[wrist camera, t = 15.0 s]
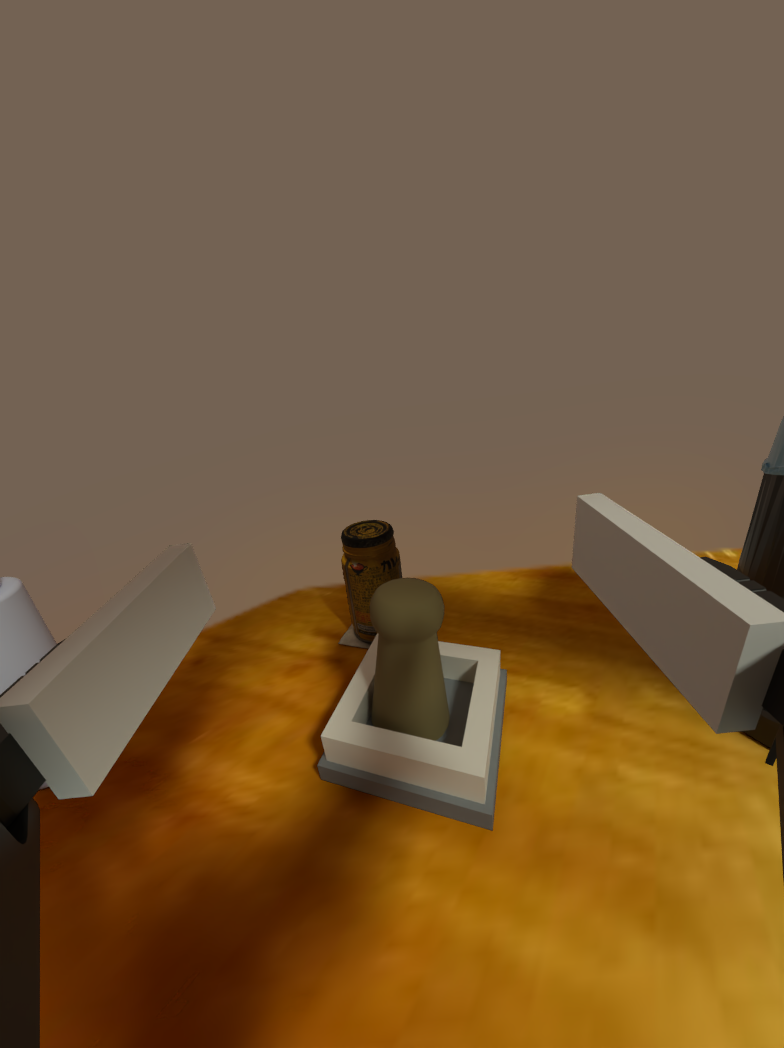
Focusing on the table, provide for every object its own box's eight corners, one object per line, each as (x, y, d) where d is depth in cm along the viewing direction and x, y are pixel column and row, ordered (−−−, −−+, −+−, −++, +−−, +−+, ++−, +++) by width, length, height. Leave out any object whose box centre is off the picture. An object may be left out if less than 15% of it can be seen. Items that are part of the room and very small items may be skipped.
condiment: (364, 605, 47) (350, 514, 43) (432, 612, 44) (424, 516, 40) (338, 645, 41) (318, 544, 36) (415, 657, 38) (404, 549, 33)
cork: (390, 679, 34) (384, 563, 30) (458, 698, 31) (460, 574, 28) (357, 732, 28) (345, 599, 25) (435, 760, 26) (434, 617, 23)
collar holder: (506, 682, 34) (507, 647, 32) (492, 830, 24) (492, 788, 22) (379, 661, 38) (374, 628, 36) (321, 779, 28) (310, 740, 26)
